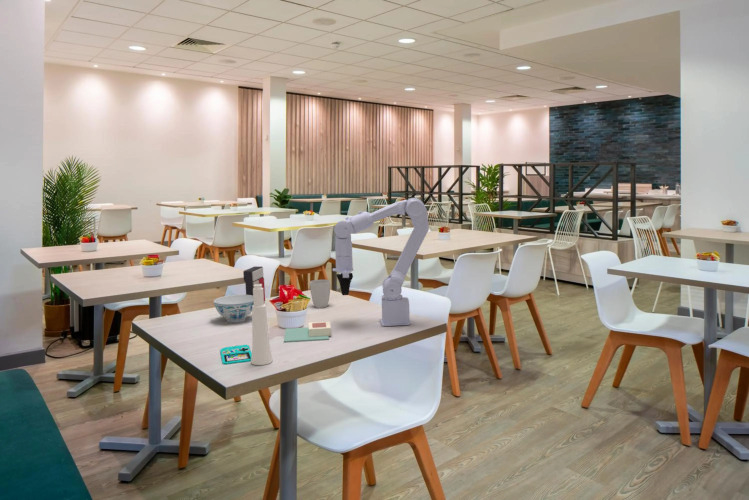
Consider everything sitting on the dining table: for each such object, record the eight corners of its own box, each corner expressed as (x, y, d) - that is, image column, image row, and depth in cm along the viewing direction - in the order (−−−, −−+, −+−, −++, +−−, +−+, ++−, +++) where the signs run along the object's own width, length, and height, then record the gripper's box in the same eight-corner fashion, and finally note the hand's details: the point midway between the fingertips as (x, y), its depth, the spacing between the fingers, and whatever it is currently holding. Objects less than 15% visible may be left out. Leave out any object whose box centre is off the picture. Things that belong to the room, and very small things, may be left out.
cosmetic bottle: (246, 364, 150) (242, 286, 147) (258, 357, 156) (254, 281, 153) (265, 366, 148) (261, 287, 145) (276, 359, 154) (273, 282, 151)
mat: (327, 327, 185) (327, 326, 185) (328, 339, 171) (328, 338, 171) (285, 329, 183) (285, 328, 183) (284, 342, 169) (283, 341, 169)
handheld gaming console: (248, 343, 167) (253, 358, 153) (248, 346, 167) (253, 362, 153) (219, 346, 164) (222, 362, 150) (220, 350, 164) (223, 366, 150)
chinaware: (261, 314, 205) (260, 294, 204) (251, 325, 190) (250, 303, 189) (222, 314, 205) (221, 294, 204) (209, 325, 190) (207, 304, 189)
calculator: (255, 308, 214) (253, 271, 212) (245, 308, 215) (243, 270, 213) (266, 302, 225) (264, 266, 223) (256, 301, 226) (254, 266, 224)
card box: (329, 321, 181) (308, 322, 181) (330, 327, 174) (308, 328, 173) (329, 328, 182) (308, 329, 181) (331, 335, 174) (309, 336, 173)
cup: (334, 304, 217) (333, 280, 216) (324, 309, 210) (323, 284, 208) (317, 303, 220) (316, 279, 219) (306, 307, 213) (305, 282, 212)
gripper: (331, 253, 192) (332, 290, 194) (333, 259, 178) (334, 300, 179) (351, 252, 193) (352, 290, 194) (354, 258, 178) (355, 298, 180)
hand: (345, 294), depth 187 cm, fingers closed
